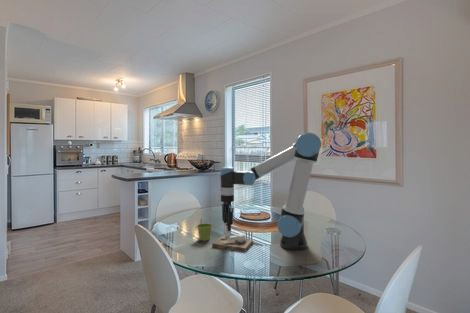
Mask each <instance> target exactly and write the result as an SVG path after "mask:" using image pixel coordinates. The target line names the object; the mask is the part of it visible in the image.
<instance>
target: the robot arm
mask: <svg viewBox="0 0 470 313" xmlns="http://www.w3.org/2000/svg"><path fill="white" fill-rule="evenodd" d="M321 148H322V141H321V139H320V138H319V136H318V135H316V134H315V133H314V132H313V133H312V132H304V133H302V134H300V135H299V136H298V137H297V139H296V141H295V142H294V143H293V144H292V146H290V147H288V148H287V149H285V150H282V151H281V152H279V153H277V154H275V155H273V156H272V157H270V158H268V159H266V160H264V161H261V162H260V163H259V164H256V165H255V166H253V167H251V168H249V169H246V170H243V171H241V170H235V169H234V167H233V166H225V167H221V168H220V175H219V176H220V188H219V191H220V194H221V195H220V202H222V203H221V211H222V212H221V214H222V216H221V217H222V222H223V236H225V223H227V224H226V236H227V237H228V236H232V225H233V224H234V207H233V205H232V202H234V201H235V195H234V194H235V185H238V186H239V185H240V186H253V185H255V182H256V181H257V180H258V179H261V178H263V177H265V176H266V175H268V174H271V173H272V172H275V171H276V170H279V169H281V168H282V167H284V166H286V165H288V164H291V163H292V162H294V161H295V163H294V166H293V168H294V169H293V172H292V176H291V181H290V186H289V190H288V194H287V197H286V202H285V204H284V205H283V206H282V207H281V211H280V216H279V218H278V220H277V224H276V226H277V230H278V232H279V233H280V235H281V237H280V240H279V246H280V247H281V248H283V249H285V250H289V251H302V250H305V249H307V247H308V242H307V239H306V238H307V237H306V235H305V207H304V204H305V200H306V195H307V191H308V186H309V182H310V179H311V174H312V169H313V165H314V164H315V163H317V162H318V158H319V155H320V150H321Z"/></svg>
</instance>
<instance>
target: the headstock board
mask: <svg viewBox="0 0 470 313" xmlns="http://www.w3.org/2000/svg"><path fill="white" fill-rule="evenodd" d="M223 238H225V235H222V236H220V237H219V238H217V239H216V240H215V241H214V242H212V243H211V247H212V248H215V249H224V250H232V251H238V252H246V251H247V250H248V249H249V248H250V247H251V246H252V245H253V244H254V239H252V238H251V239H249V238H245V242H243V243H239V242H236V240H231V241H227V240H220V239H223Z"/></svg>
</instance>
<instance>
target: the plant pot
mask: <svg viewBox="0 0 470 313" xmlns="http://www.w3.org/2000/svg"><path fill="white" fill-rule="evenodd" d="M212 227H213V225H212V224H211V223H199V224H197V225H196V228H197V230H198V235H199V241H203V242H207V241H209V240H210V238H211V232H212V231H211V230H212Z"/></svg>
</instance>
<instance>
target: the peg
mask: <svg viewBox="0 0 470 313" xmlns="http://www.w3.org/2000/svg"><path fill="white" fill-rule="evenodd" d="M226 224H227V223H225V235H224V236H225V238H223V239H220V240H227V241H231V240H236V242H239V243H243V242H245V239H246V234H245V233H237V234H235V235H231V236H228V237H227V236H226Z"/></svg>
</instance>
